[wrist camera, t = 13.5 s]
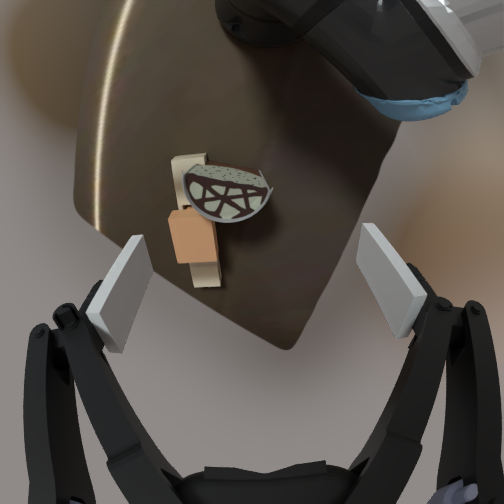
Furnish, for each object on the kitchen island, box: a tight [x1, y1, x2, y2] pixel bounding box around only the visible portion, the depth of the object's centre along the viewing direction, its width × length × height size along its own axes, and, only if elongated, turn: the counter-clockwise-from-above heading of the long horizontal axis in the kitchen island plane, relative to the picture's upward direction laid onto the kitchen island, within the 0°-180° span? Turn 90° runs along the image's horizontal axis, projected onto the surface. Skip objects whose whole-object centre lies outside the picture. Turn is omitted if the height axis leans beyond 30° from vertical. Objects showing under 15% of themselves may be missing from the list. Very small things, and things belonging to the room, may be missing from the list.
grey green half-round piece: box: [182, 161, 273, 223], centre depth 39 cm, size 12×6×10 cm, turn 77°
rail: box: [171, 153, 222, 287], centre depth 45 cm, size 24×5×3 cm, turn 3°
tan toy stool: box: [168, 205, 219, 263], centre depth 44 cm, size 8×6×6 cm
